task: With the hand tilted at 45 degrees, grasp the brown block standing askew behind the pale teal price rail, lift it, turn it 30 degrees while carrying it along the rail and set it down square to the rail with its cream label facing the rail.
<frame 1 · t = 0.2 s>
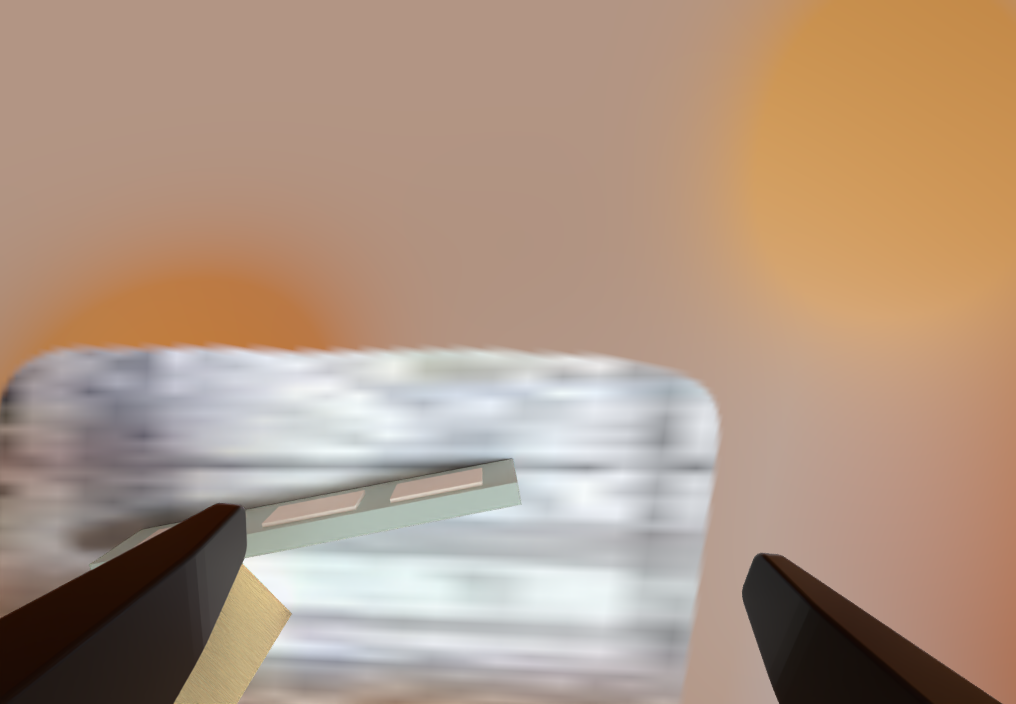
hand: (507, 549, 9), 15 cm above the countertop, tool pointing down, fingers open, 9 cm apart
price rail: (331, 503, 24), on the countertop
brown block: (225, 617, 25), on the countertop
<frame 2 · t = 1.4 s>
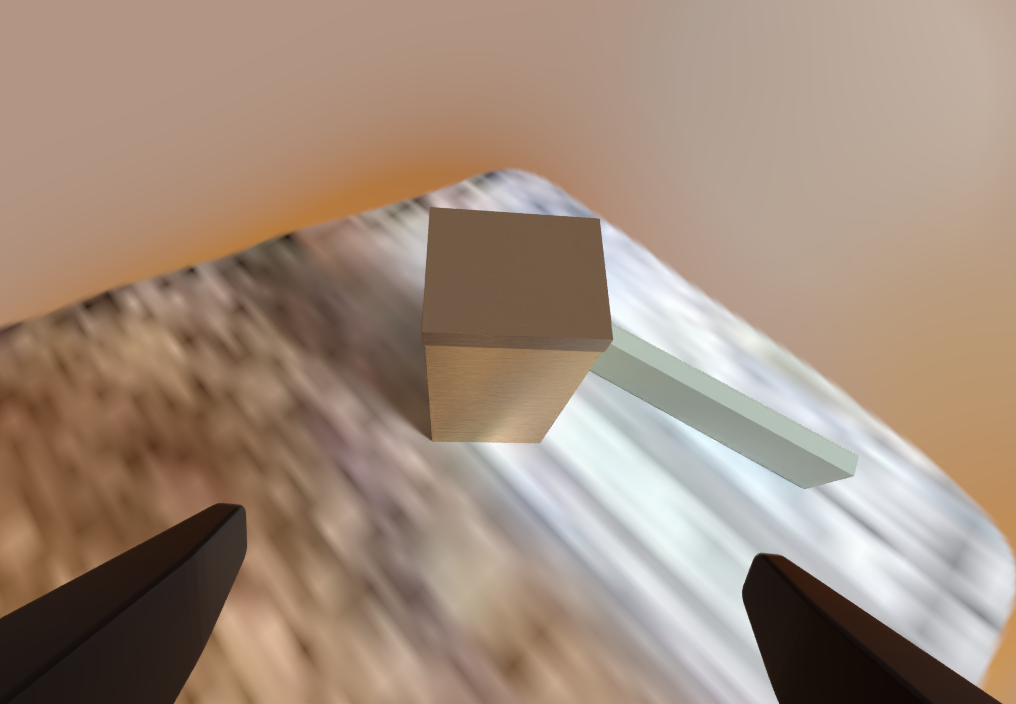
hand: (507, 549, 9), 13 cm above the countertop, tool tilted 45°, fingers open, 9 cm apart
price rail: (640, 388, 25), on the countertop
brown block: (486, 401, 24), on the countertop
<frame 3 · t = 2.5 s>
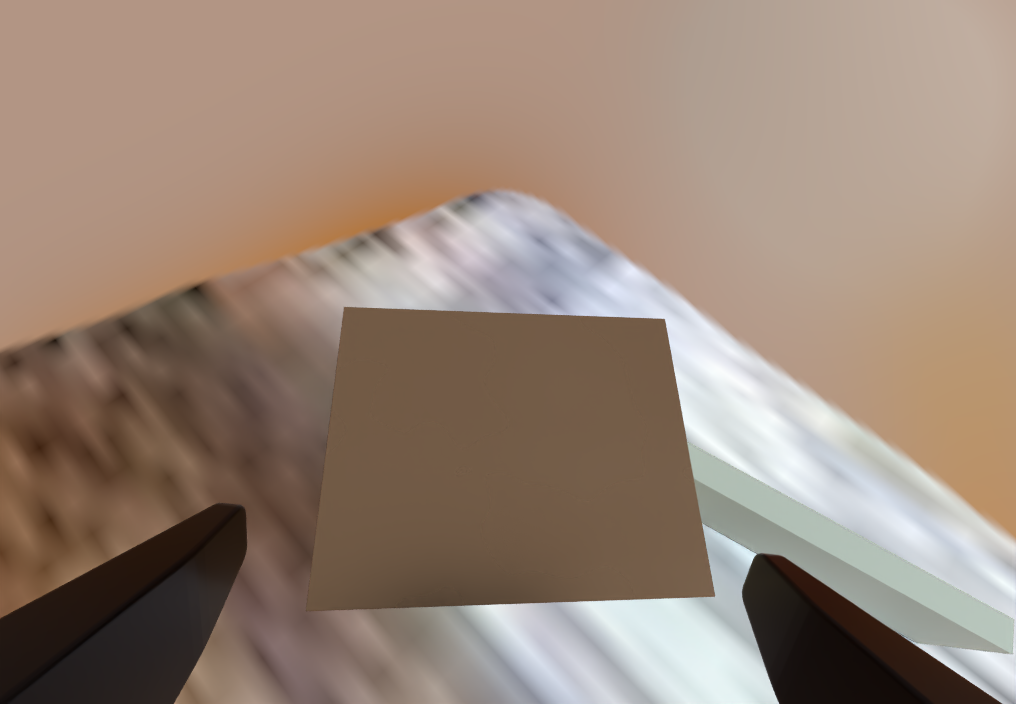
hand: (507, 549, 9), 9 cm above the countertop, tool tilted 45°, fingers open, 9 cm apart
price rail: (682, 497, 18), on the countertop
brown block: (470, 526, 17), on the countertop
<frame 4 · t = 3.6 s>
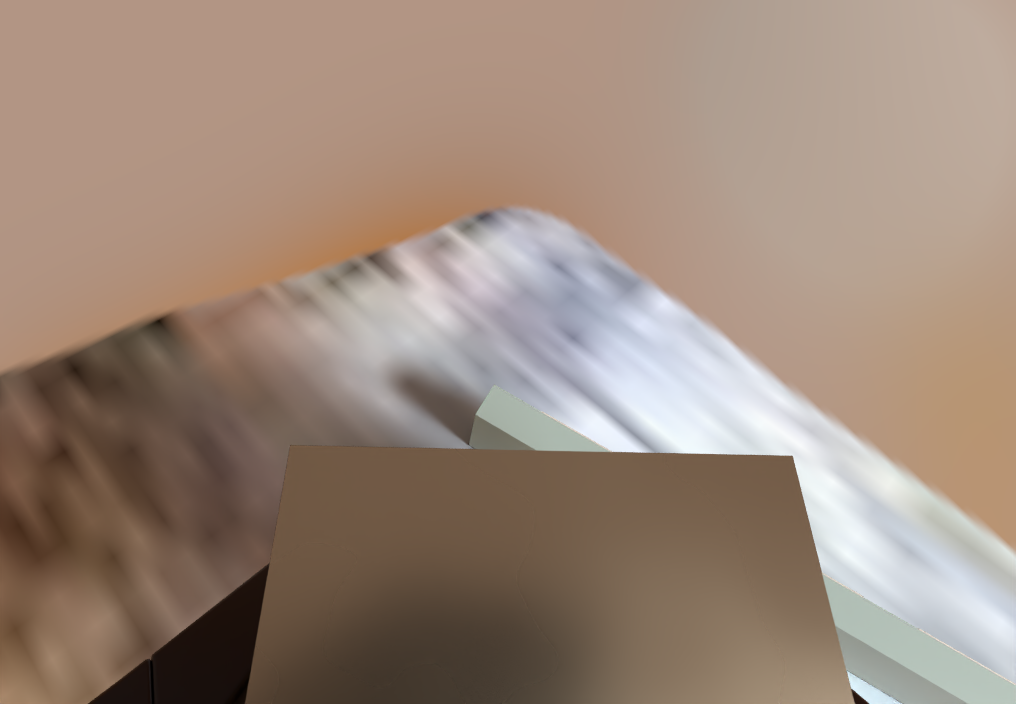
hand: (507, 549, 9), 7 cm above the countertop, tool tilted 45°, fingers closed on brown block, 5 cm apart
price rail: (728, 581, 15), on the countertop
brown block: (475, 618, 14), on the countertop, touching gripper
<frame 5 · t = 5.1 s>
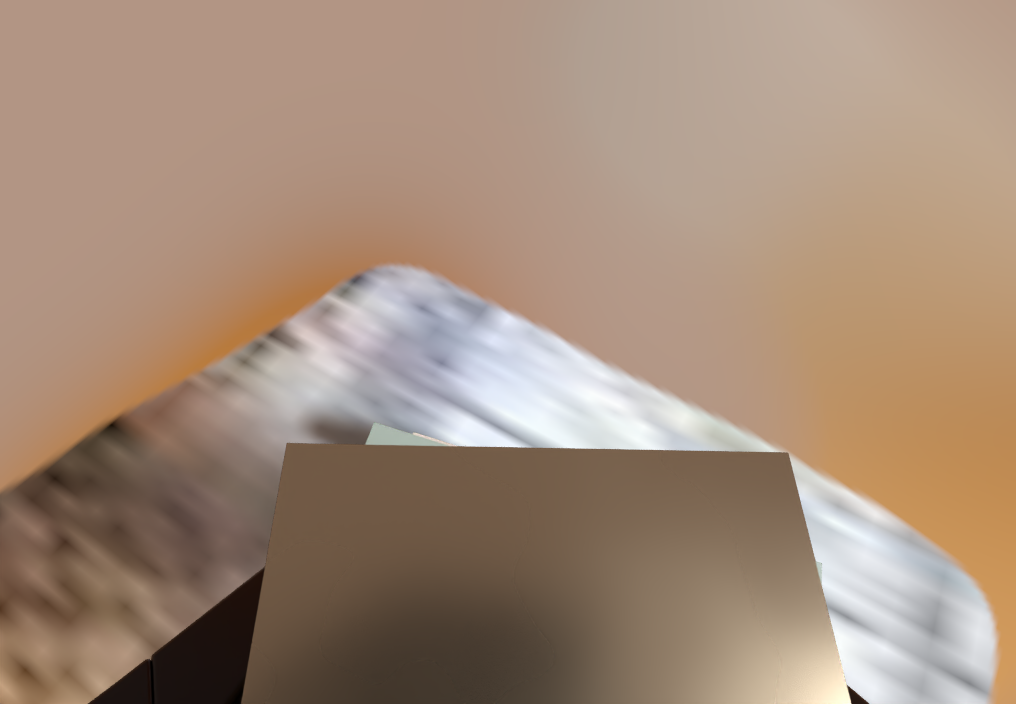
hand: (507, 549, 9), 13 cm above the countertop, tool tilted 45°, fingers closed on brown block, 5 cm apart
price rail: (574, 514, 22), on the countertop
brown block: (474, 617, 14), point 7 cm above the countertop, touching gripper
when the fingers open (8 cm above the countertop, at t = 6.8 s): brown block drops 1 cm, on the countertop.
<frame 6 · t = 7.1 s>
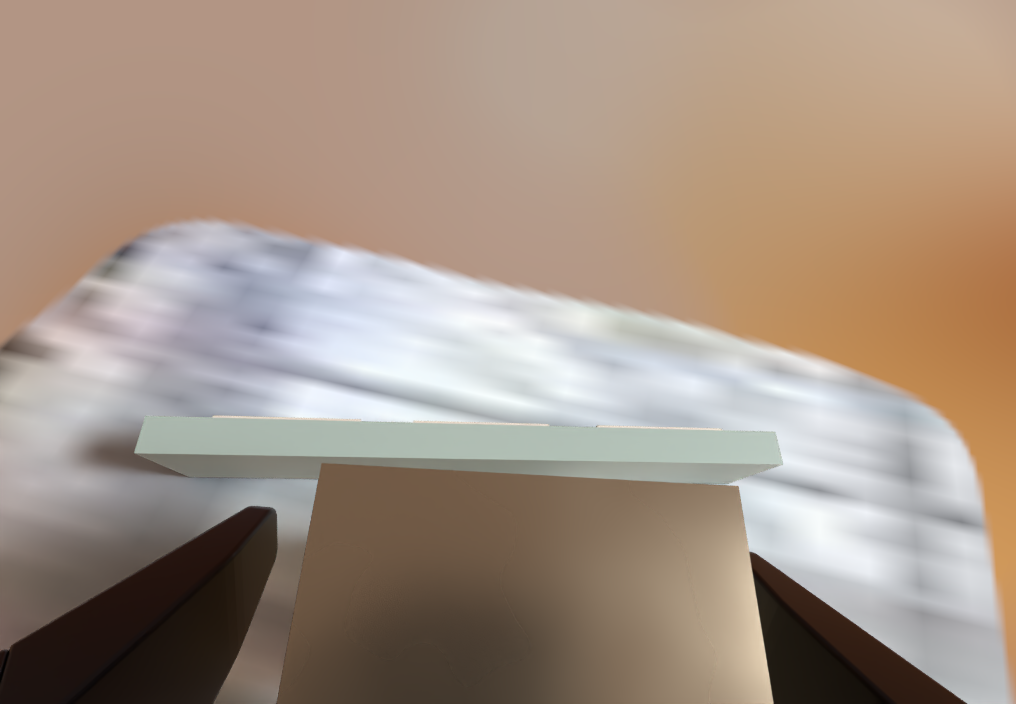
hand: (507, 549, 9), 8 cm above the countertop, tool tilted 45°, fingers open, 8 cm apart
price rail: (475, 465, 17), on the countertop
brown block: (472, 615, 15), on the countertop
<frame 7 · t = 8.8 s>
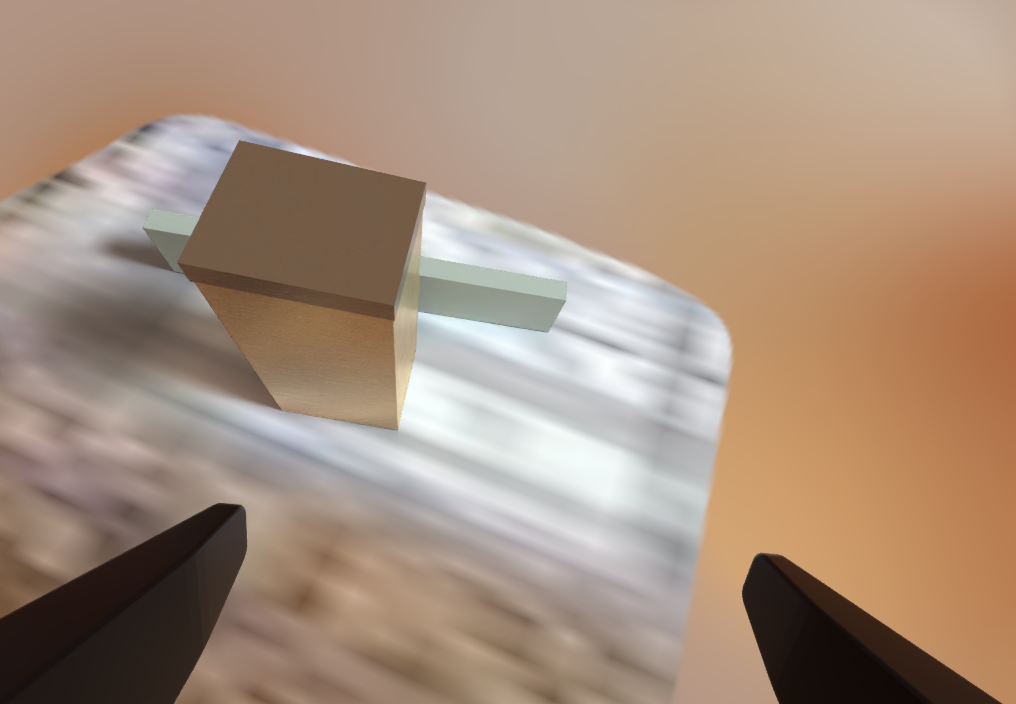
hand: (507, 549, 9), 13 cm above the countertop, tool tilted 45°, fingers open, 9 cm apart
price rail: (372, 294, 25), on the countertop
brown block: (352, 378, 23), on the countertop
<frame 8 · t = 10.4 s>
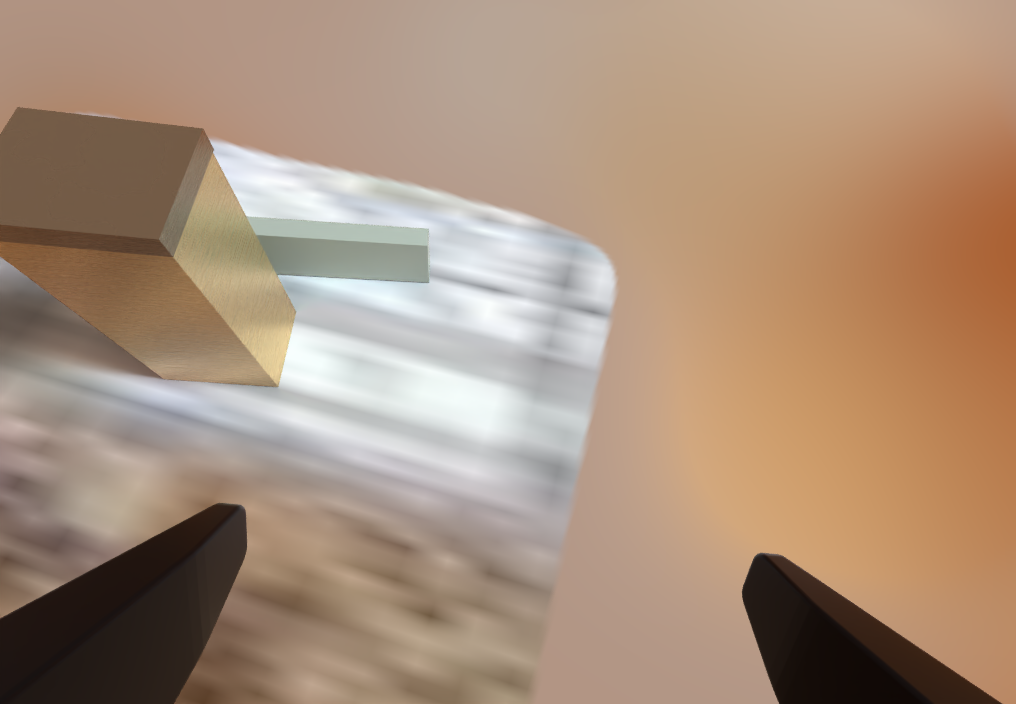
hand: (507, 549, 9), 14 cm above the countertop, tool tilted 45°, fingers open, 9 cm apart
price rail: (252, 264, 26), on the countertop
brown block: (233, 343, 24), on the countertop
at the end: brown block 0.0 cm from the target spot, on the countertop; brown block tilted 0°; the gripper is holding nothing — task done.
